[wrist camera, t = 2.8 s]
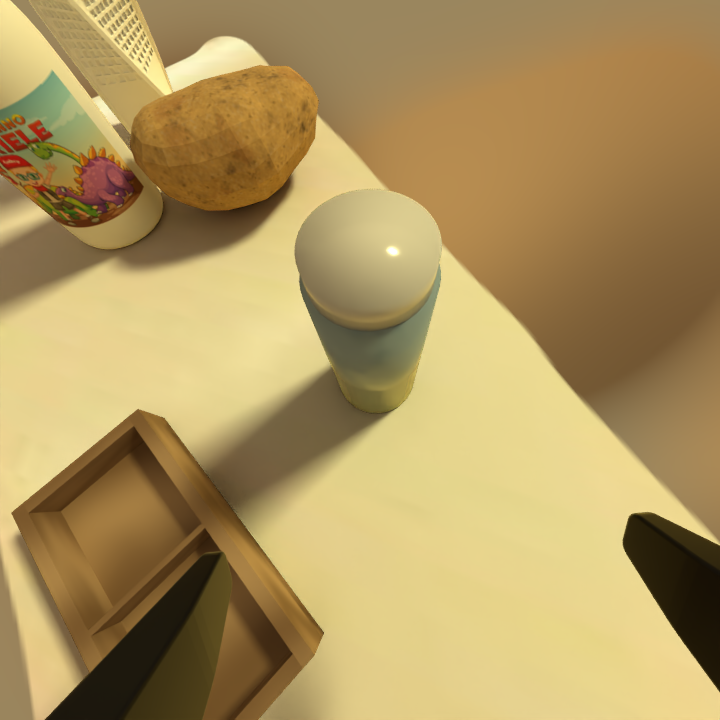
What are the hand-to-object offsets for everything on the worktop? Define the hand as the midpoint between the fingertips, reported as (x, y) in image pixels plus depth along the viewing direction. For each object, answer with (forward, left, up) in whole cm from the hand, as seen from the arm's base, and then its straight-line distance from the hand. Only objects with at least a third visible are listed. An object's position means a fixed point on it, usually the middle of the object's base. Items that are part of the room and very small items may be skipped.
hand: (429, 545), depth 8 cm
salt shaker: (+7, -5, -13) cm, 15 cm away
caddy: (+7, +11, -13) cm, 18 cm away
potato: (+27, -10, -13) cm, 32 cm away
